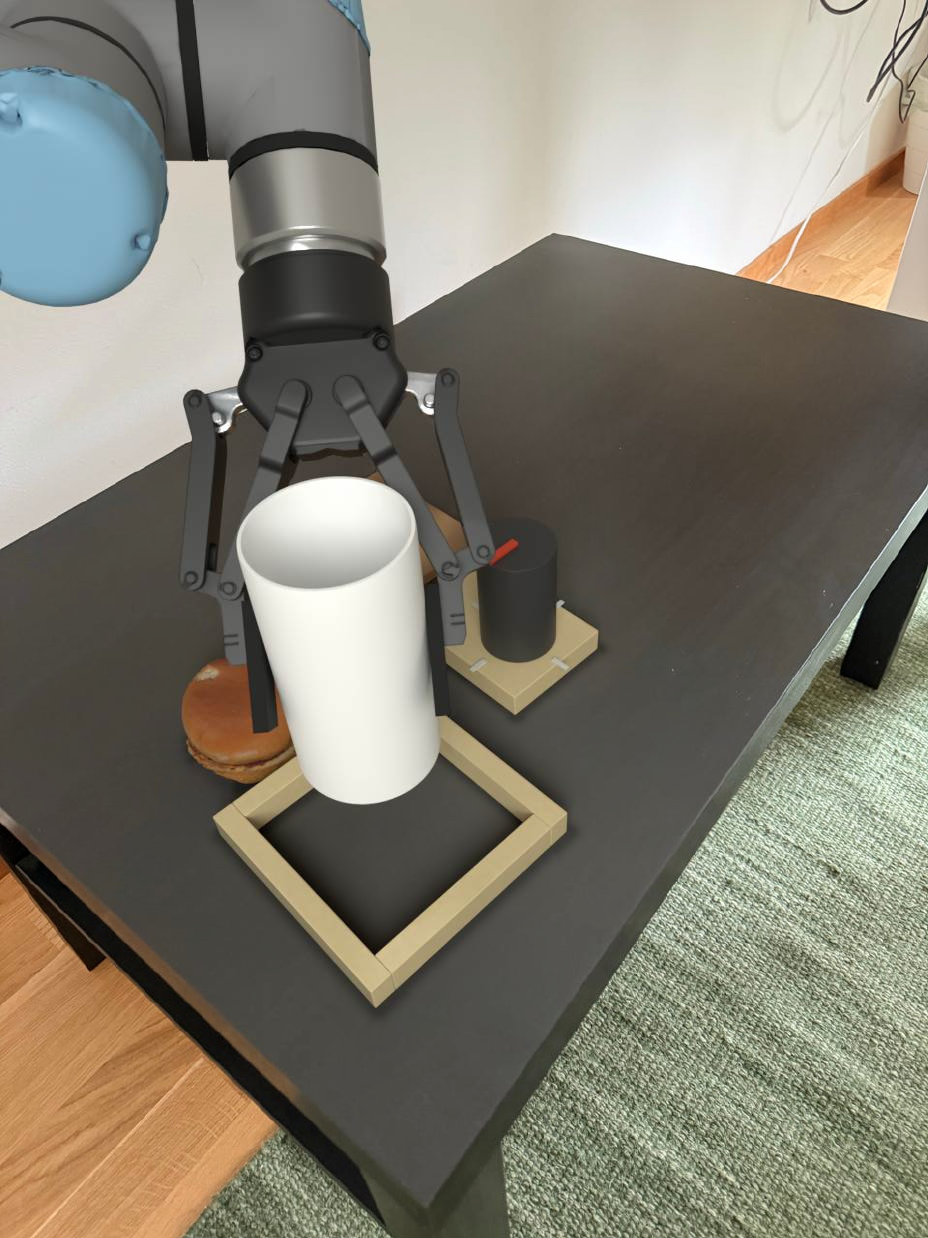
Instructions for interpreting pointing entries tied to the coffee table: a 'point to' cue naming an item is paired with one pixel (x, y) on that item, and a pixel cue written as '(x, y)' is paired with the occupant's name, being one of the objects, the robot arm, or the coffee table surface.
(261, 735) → the burger
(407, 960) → the square frame
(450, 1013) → the coffee table surface
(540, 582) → the burner knob
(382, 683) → the cup
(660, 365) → the coffee table surface
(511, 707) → the panel
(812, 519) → the coffee table surface
